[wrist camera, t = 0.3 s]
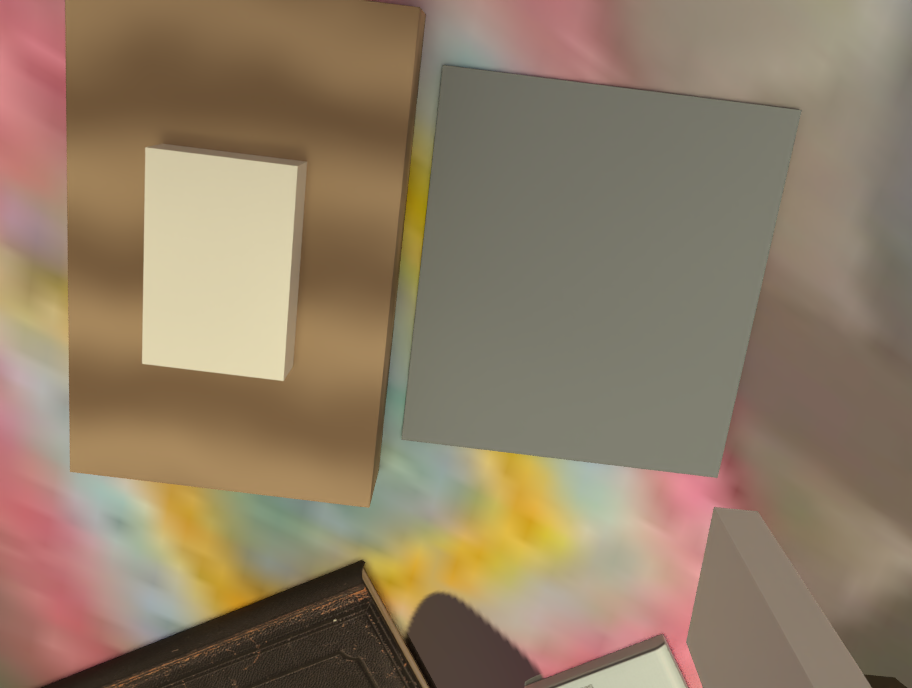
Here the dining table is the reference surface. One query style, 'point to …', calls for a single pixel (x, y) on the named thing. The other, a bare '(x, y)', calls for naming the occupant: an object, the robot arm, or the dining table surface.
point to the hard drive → (622, 670)
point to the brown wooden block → (323, 236)
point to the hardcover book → (278, 646)
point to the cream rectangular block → (221, 260)
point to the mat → (591, 269)
